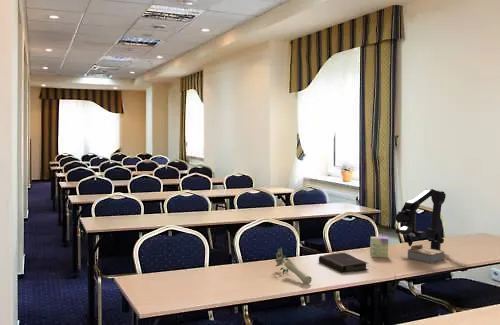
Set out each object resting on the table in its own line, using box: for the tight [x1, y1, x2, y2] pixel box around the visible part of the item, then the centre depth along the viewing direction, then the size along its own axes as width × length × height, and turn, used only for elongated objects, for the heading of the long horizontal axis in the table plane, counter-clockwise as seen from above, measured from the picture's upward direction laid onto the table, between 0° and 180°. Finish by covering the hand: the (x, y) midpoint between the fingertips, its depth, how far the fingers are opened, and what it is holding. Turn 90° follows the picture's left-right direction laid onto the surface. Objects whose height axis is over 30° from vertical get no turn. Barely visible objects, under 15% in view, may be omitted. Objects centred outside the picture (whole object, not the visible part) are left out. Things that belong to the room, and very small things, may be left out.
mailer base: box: [407, 250, 445, 265], centre depth 316 cm, size 14×16×4 cm
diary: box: [318, 252, 369, 274], centre depth 298 cm, size 19×25×5 cm
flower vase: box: [274, 247, 313, 286], centre depth 277 cm, size 12×12×35 cm
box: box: [369, 236, 389, 258], centre depth 322 cm, size 10×6×12 cm, turn 84°
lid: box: [407, 244, 445, 256], centre depth 315 cm, size 14×16×3 cm
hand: (409, 246), depth 324 cm, fingers closed
